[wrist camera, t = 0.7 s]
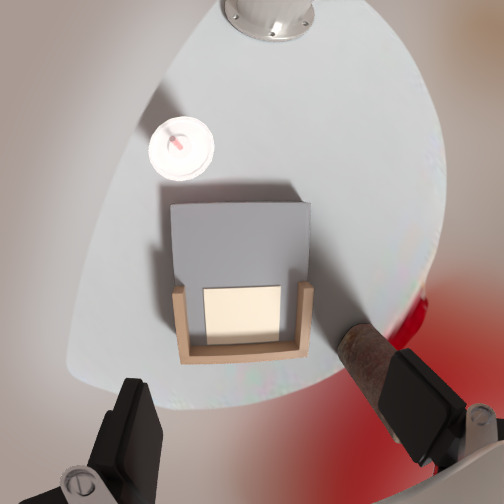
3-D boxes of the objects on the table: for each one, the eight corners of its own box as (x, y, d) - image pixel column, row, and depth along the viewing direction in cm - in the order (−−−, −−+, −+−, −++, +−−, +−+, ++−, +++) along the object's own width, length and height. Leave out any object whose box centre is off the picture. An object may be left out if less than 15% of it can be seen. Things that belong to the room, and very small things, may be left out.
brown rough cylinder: (356, 367, 43) (417, 448, 23) (325, 354, 41) (383, 446, 22) (383, 330, 42) (458, 401, 22) (353, 314, 40) (432, 393, 21)
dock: (174, 203, 33) (166, 206, 28) (302, 201, 35) (317, 204, 30) (184, 342, 38) (180, 364, 32) (296, 336, 40) (307, 356, 34)
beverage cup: (216, 134, 32) (216, 99, 19) (214, 183, 33) (212, 179, 20) (166, 134, 31) (136, 102, 18) (164, 183, 33) (131, 180, 19)
